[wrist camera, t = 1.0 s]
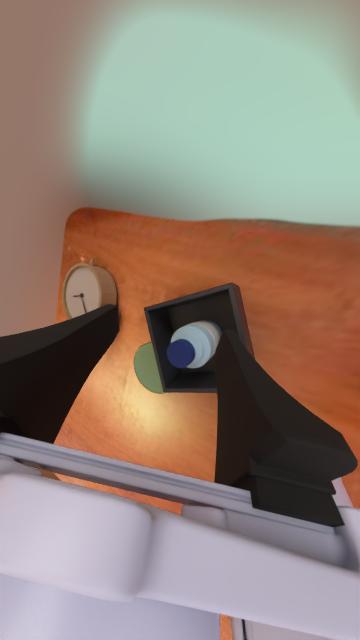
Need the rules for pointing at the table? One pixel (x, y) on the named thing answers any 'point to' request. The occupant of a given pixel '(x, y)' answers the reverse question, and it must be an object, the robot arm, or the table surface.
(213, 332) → the bottle
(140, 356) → the coaster
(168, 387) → the bin
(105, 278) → the alarm clock
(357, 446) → the table surface
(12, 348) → the robot arm
